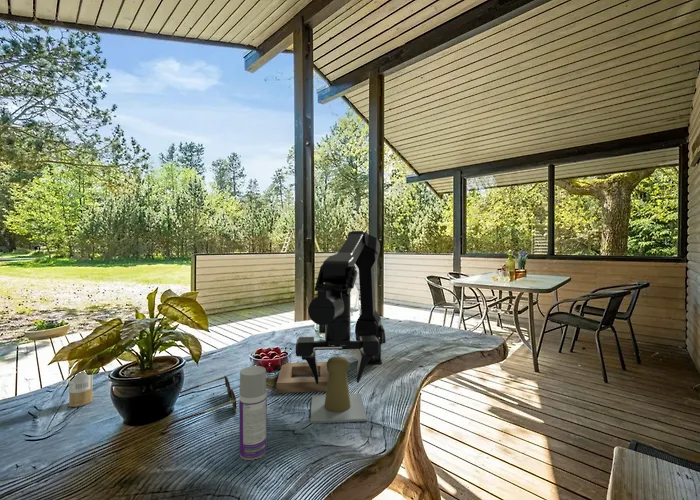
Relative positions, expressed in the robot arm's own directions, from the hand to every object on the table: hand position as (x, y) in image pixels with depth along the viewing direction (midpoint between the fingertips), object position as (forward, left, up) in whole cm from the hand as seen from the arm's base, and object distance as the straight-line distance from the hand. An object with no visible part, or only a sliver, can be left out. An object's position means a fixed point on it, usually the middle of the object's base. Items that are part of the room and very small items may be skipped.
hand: (337, 382), depth 77 cm
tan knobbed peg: (0, 0, -6) cm, 6 cm away
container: (+16, +15, -6) cm, 23 cm away
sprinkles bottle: (+60, -7, -6) cm, 61 cm away
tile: (0, 0, -6) cm, 6 cm away
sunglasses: (+31, -1, -7) cm, 32 cm away
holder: (+8, -16, -6) cm, 19 cm away
